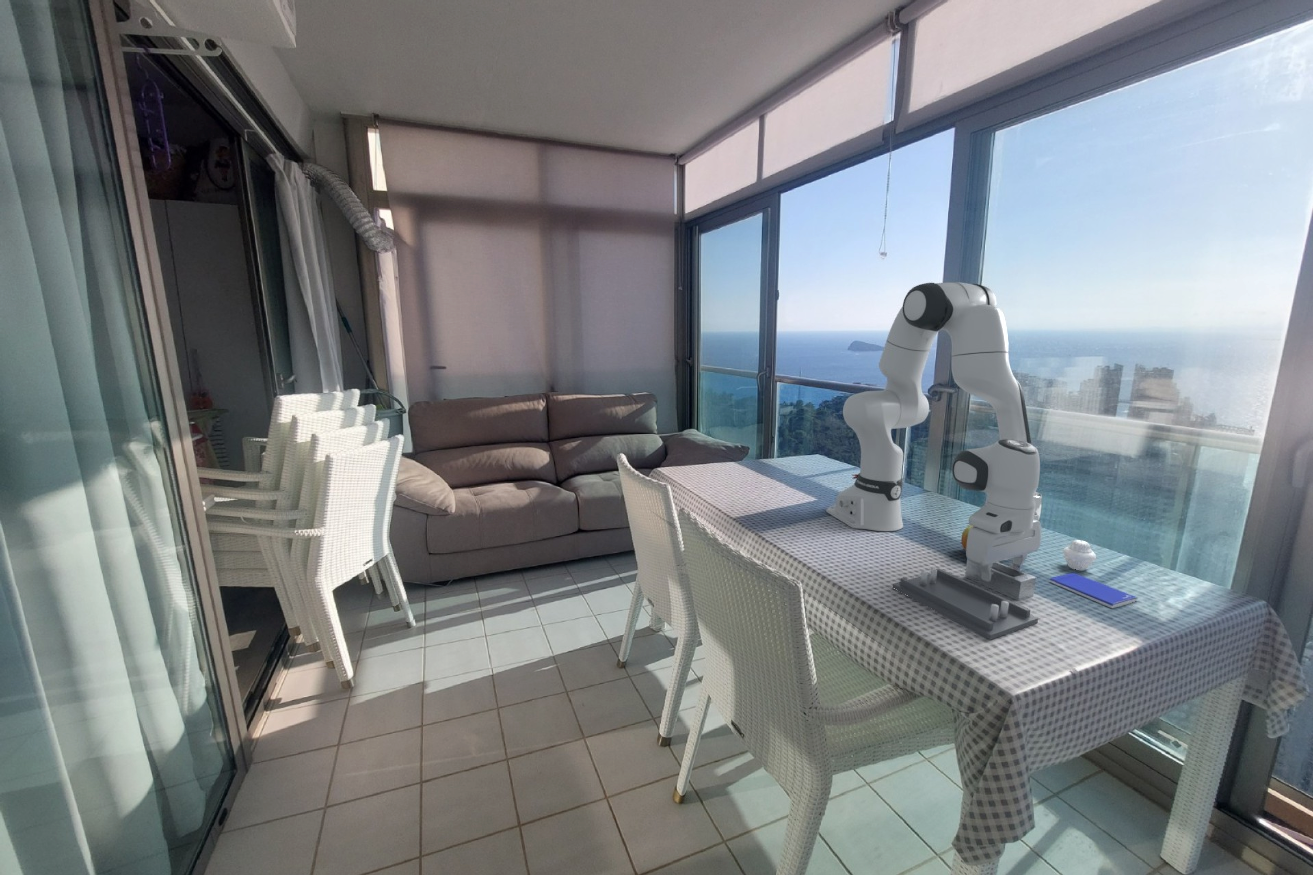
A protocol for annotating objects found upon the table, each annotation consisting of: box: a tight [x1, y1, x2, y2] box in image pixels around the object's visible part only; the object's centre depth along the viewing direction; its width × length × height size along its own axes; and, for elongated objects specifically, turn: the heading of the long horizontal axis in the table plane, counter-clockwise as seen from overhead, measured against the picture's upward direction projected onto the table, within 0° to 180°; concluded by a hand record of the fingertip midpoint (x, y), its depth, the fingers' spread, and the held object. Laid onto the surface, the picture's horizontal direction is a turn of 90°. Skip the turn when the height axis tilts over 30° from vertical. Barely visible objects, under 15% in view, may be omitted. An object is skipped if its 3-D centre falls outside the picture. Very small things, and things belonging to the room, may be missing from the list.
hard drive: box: [1049, 572, 1138, 609], centre depth 115 cm, size 2×8×12 cm
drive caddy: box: [964, 558, 1037, 601], centre depth 117 cm, size 12×5×5 cm, turn 24°
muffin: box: [1062, 539, 1097, 572], centre depth 126 cm, size 6×6×7 cm
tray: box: [892, 568, 1039, 641], centre depth 109 cm, size 22×14×4 cm, turn 25°
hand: (1001, 575), depth 117 cm, fingers open, 8 cm apart
